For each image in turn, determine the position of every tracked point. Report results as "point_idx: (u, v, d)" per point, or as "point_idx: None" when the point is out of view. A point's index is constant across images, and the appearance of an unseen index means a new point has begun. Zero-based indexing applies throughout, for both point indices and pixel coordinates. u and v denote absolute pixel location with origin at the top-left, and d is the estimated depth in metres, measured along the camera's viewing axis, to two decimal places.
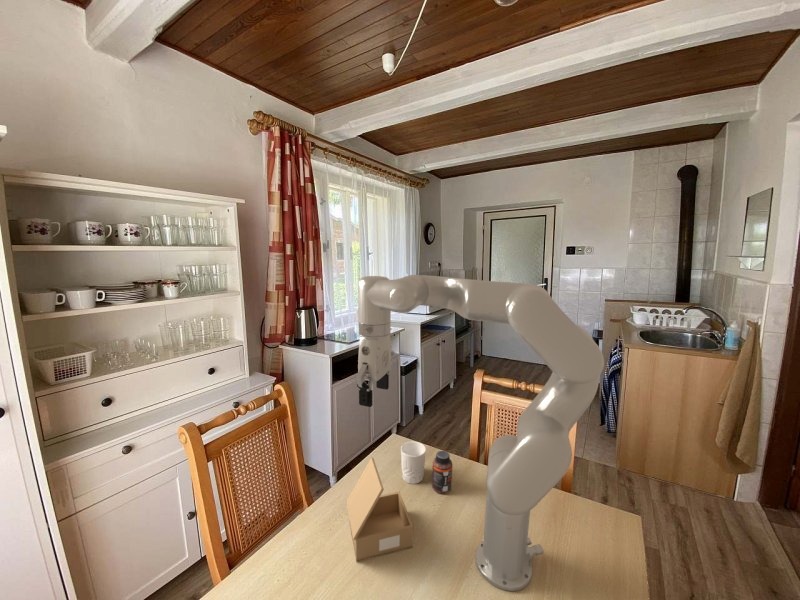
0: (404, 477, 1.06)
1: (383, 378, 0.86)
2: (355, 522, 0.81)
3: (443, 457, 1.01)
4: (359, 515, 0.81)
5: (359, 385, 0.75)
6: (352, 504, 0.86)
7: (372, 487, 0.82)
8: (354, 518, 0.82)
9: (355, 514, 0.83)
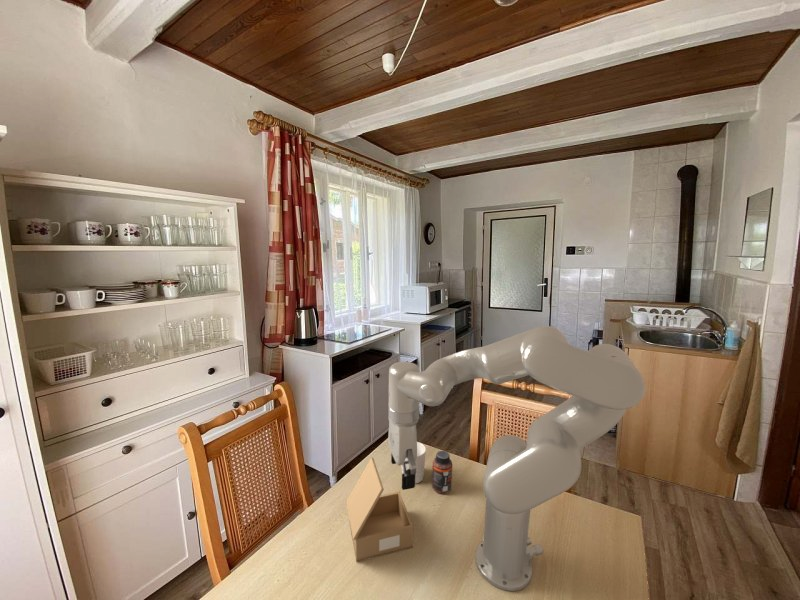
0: None
1: None
2: (355, 522, 0.81)
3: (443, 457, 1.01)
4: (359, 515, 0.81)
5: None
6: (352, 504, 0.86)
7: (372, 487, 0.82)
8: (354, 518, 0.82)
9: (355, 514, 0.83)
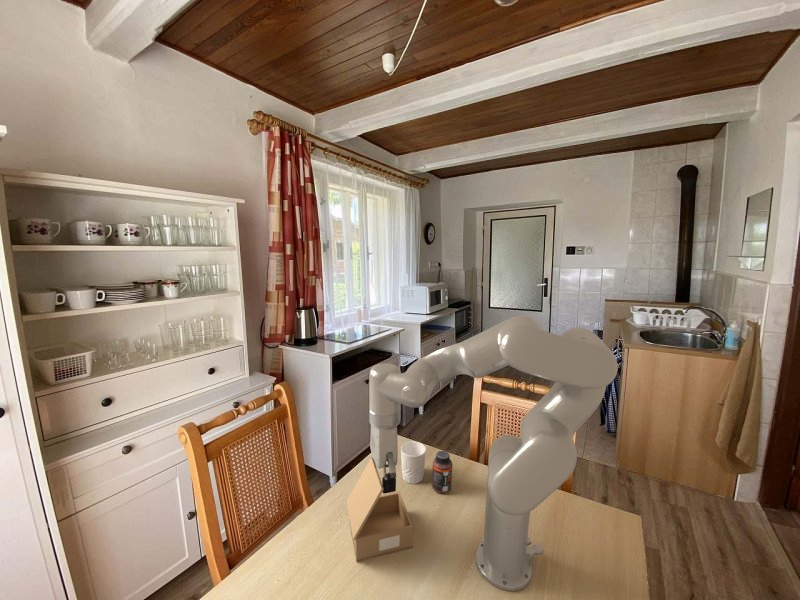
0: (404, 477, 1.06)
1: None
2: (355, 522, 0.81)
3: (443, 457, 1.01)
4: (359, 515, 0.81)
5: None
6: (352, 504, 0.86)
7: (372, 487, 0.82)
8: (354, 518, 0.82)
9: (355, 514, 0.83)
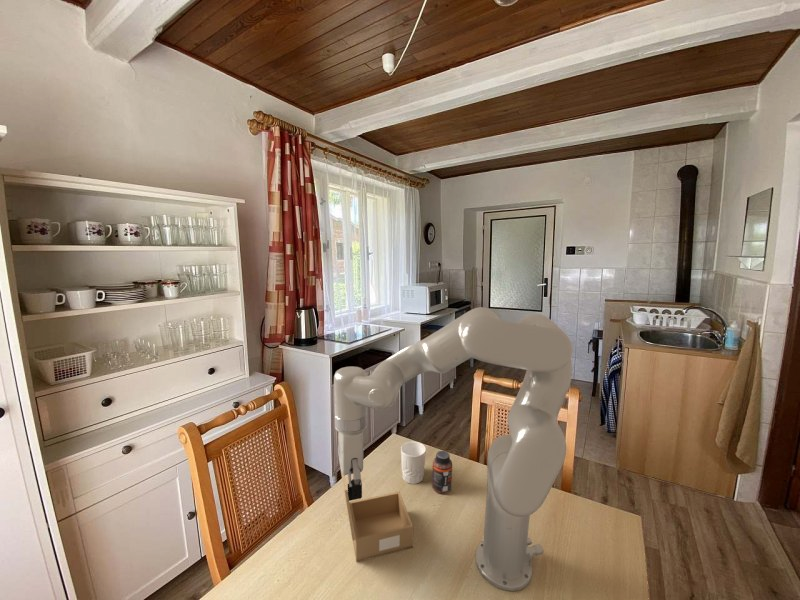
0: (404, 477, 1.06)
1: None
2: None
3: (443, 457, 1.01)
4: None
5: None
6: None
7: None
8: None
9: None
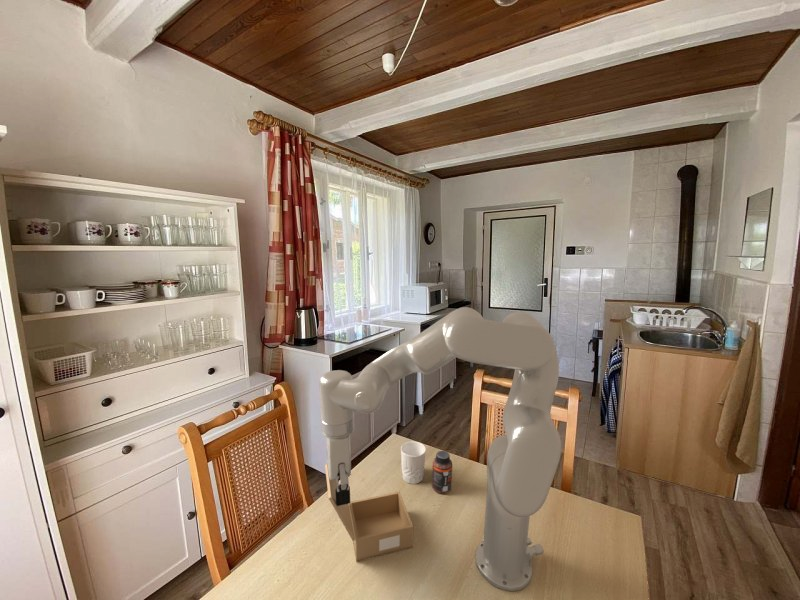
0: (404, 477, 1.06)
1: None
2: None
3: (443, 457, 1.01)
4: None
5: None
6: None
7: None
8: None
9: None
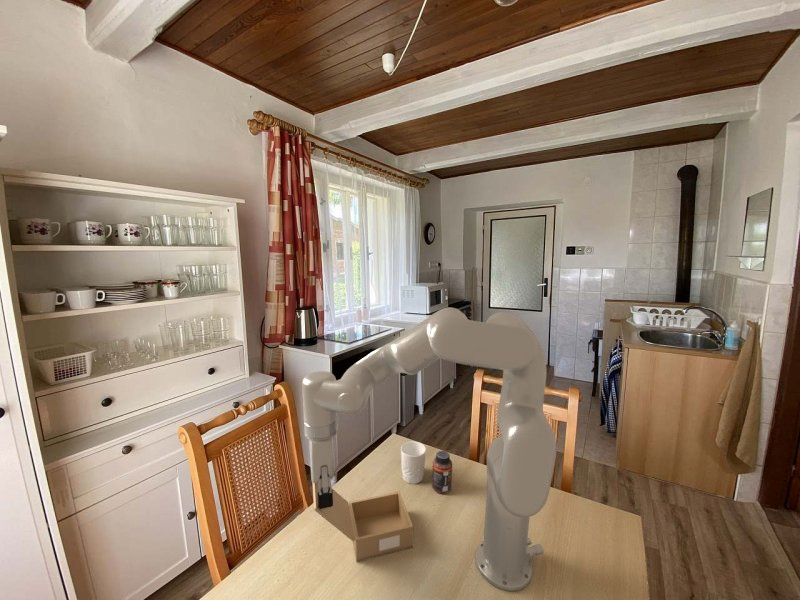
0: (404, 477, 1.06)
1: None
2: None
3: (443, 457, 1.01)
4: None
5: None
6: None
7: None
8: None
9: None
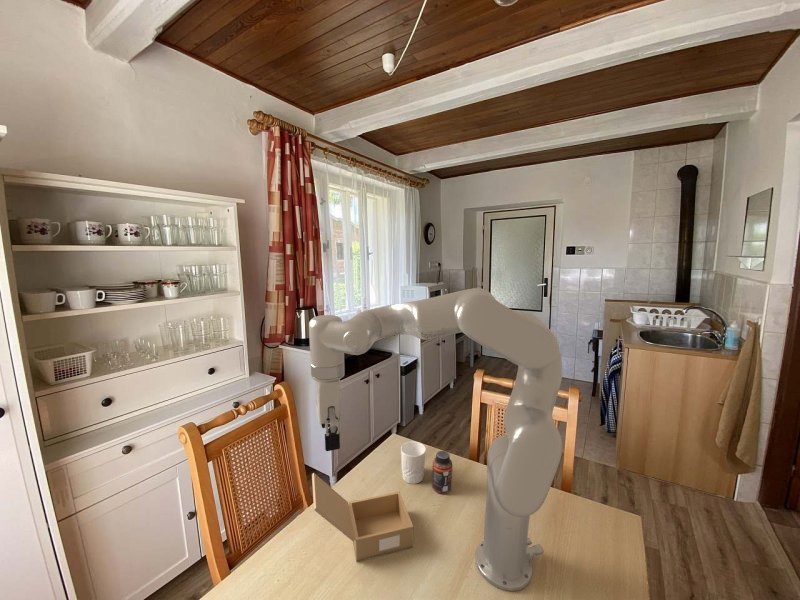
0: (404, 477, 1.06)
1: None
2: None
3: (443, 457, 1.01)
4: None
5: None
6: None
7: None
8: None
9: None
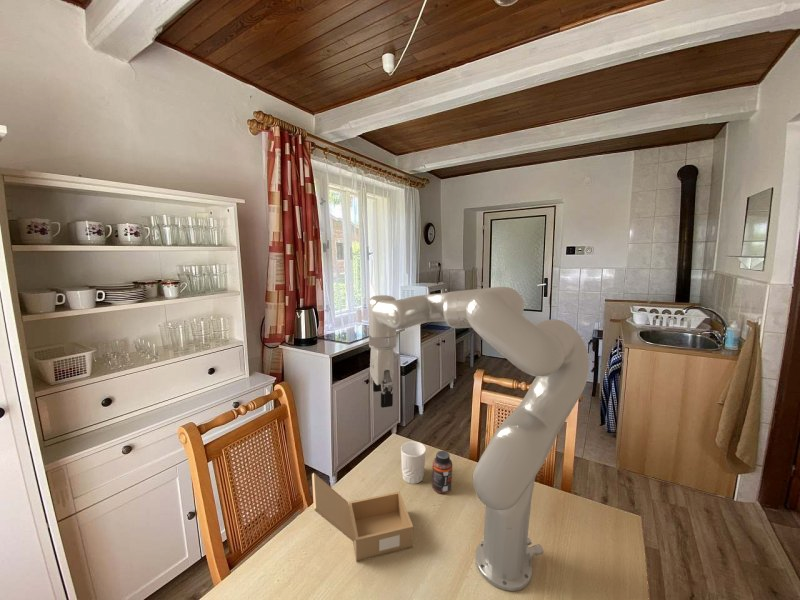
0: (404, 477, 1.06)
1: None
2: None
3: (443, 457, 1.01)
4: None
5: None
6: None
7: None
8: None
9: None
